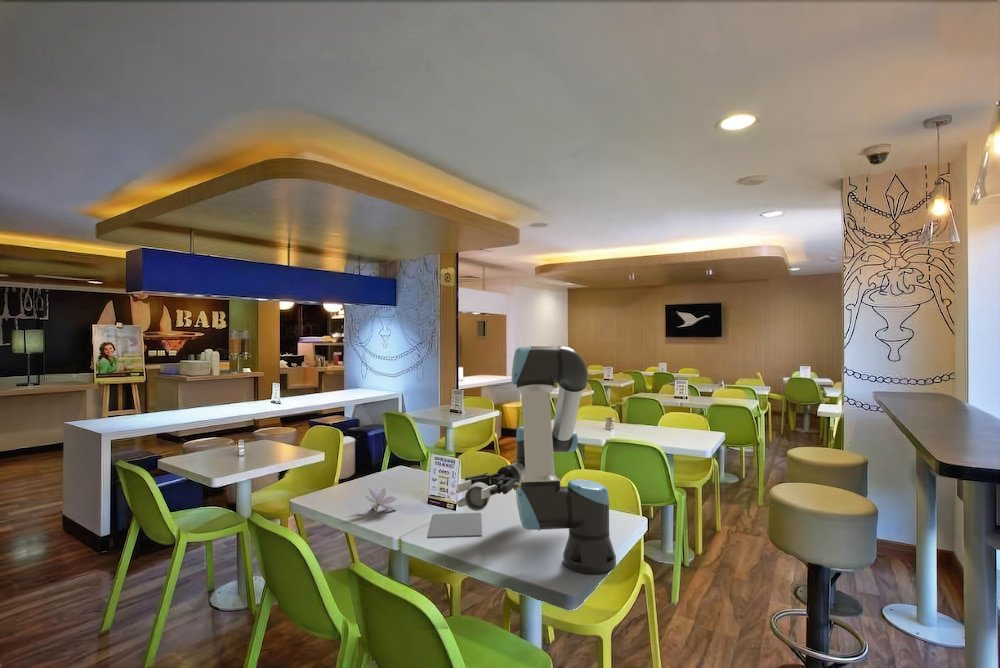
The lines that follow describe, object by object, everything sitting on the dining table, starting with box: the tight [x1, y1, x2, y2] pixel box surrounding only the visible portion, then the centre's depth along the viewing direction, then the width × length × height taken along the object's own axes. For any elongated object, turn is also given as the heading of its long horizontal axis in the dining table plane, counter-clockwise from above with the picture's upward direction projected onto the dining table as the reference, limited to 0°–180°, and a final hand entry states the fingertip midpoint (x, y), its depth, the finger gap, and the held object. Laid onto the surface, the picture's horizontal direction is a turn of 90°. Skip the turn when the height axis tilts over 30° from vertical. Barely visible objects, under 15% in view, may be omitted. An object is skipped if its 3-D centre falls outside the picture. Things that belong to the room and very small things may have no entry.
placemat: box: [427, 512, 483, 539], centre depth 179 cm, size 22×18×1 cm
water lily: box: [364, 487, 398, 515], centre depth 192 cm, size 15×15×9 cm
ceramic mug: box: [456, 482, 491, 512], centre depth 163 cm, size 11×8×8 cm
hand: (469, 491), depth 159 cm, fingers closed on ceramic mug, 10 cm apart
